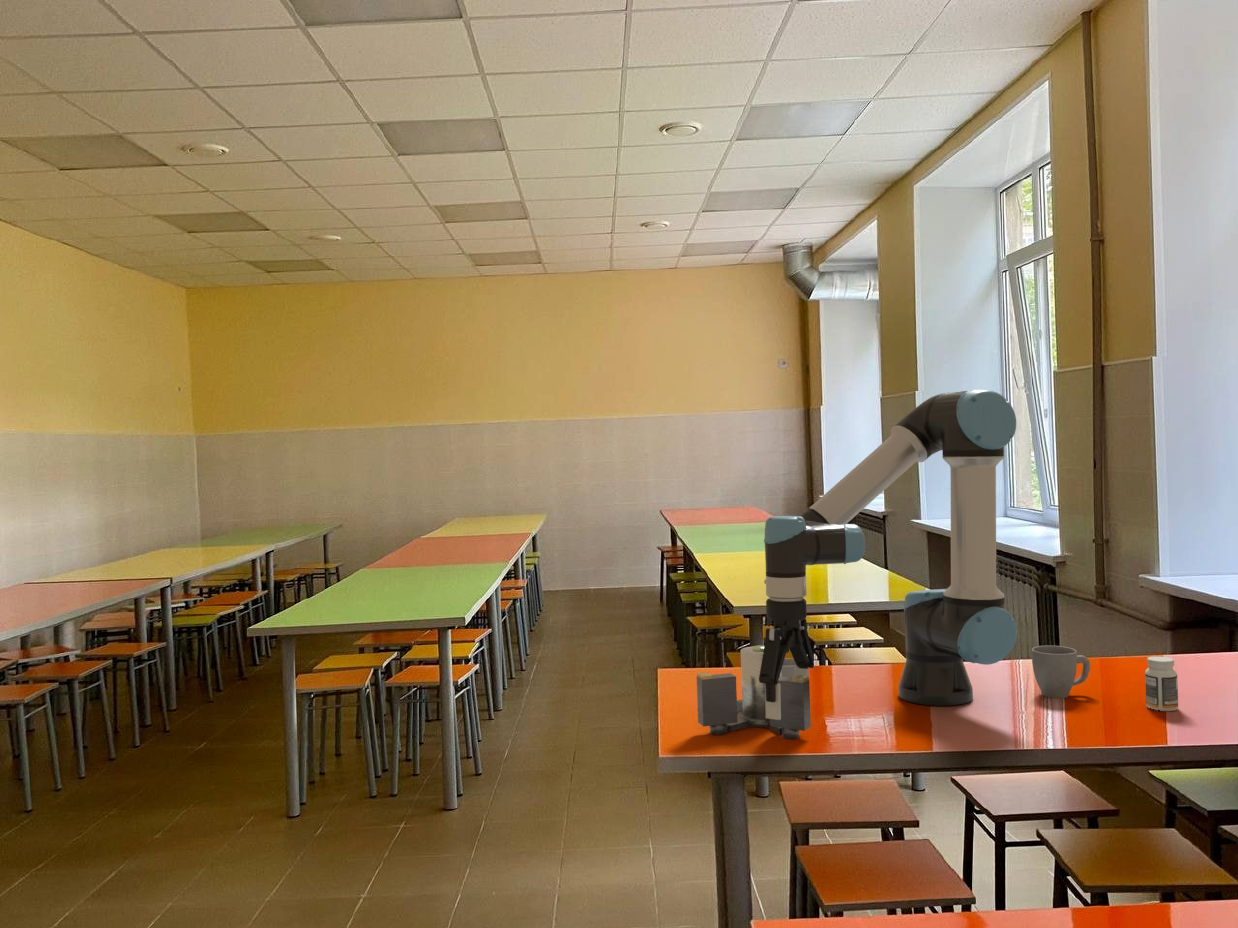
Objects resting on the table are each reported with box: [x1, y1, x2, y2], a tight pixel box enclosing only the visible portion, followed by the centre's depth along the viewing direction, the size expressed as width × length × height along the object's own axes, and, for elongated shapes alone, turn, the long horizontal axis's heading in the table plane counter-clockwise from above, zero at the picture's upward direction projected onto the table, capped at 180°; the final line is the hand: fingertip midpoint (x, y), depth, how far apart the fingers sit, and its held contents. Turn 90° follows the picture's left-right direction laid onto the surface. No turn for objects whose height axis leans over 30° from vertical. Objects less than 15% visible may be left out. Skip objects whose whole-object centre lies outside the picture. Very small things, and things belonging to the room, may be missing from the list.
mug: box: [1031, 645, 1091, 699], centre depth 210 cm, size 12×9×10 cm
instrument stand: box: [726, 645, 782, 735], centre depth 198 cm, size 13×16×15 cm
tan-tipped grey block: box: [696, 672, 738, 736], centre depth 191 cm, size 7×3×12 cm, turn 104°
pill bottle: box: [1144, 656, 1179, 712], centre depth 197 cm, size 6×6×10 cm
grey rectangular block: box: [770, 675, 812, 740], centre depth 187 cm, size 7×3×12 cm, turn 57°
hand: (788, 710), depth 187 cm, fingers open, 13 cm apart
